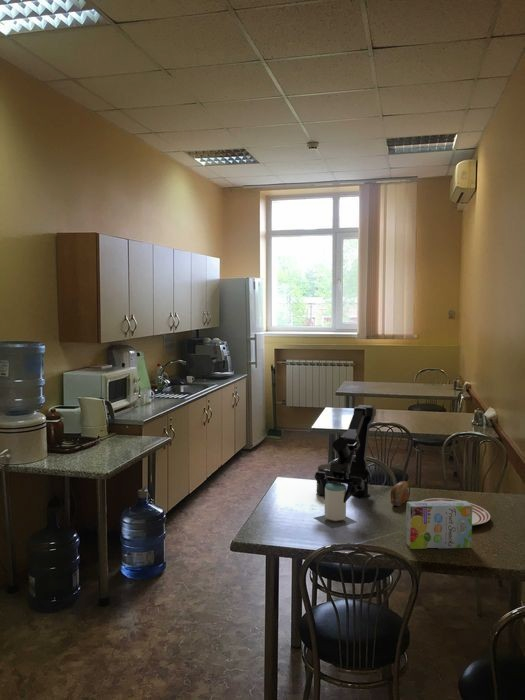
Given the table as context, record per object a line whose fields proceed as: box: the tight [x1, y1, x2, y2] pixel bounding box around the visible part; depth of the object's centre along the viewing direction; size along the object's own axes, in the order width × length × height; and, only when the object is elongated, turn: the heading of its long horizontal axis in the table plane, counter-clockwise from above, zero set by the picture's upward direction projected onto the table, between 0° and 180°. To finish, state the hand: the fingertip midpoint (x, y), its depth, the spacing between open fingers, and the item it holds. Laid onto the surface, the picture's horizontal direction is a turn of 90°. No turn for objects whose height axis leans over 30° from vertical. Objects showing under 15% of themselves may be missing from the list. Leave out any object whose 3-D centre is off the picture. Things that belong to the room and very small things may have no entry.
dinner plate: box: [421, 497, 491, 527], centre depth 219 cm, size 27×27×3 cm
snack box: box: [405, 500, 473, 550], centre depth 193 cm, size 21×6×15 cm, turn 92°
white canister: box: [324, 483, 347, 520], centre depth 214 cm, size 8×8×12 cm
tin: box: [390, 480, 411, 507], centre depth 235 cm, size 15×3×8 cm, turn 143°
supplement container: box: [315, 463, 337, 498], centre depth 245 cm, size 10×10×12 cm
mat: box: [313, 514, 358, 530], centre depth 215 cm, size 12×12×1 cm
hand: (334, 500), depth 213 cm, fingers closed on white canister, 7 cm apart
